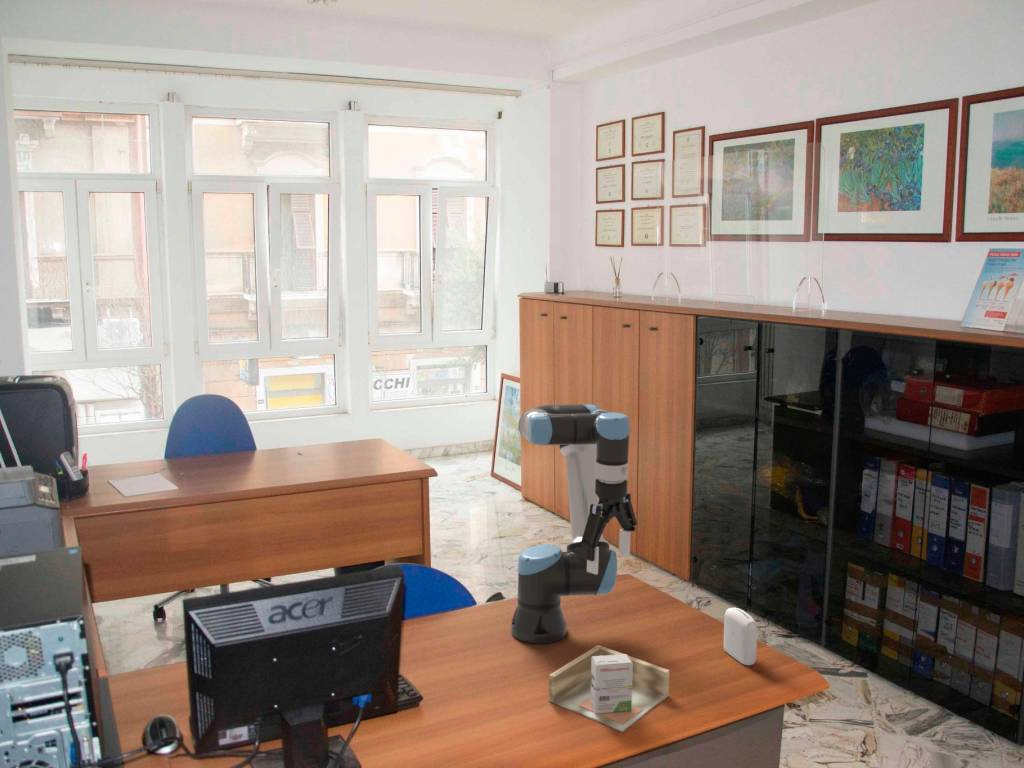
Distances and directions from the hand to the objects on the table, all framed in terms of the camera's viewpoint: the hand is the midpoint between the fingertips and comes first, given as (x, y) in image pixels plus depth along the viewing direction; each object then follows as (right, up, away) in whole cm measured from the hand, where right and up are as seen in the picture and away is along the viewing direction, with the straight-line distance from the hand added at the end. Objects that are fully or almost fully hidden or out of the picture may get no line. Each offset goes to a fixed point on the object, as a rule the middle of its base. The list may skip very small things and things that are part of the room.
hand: (608, 564), depth 209 cm
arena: (-1, -30, -6) cm, 31 cm away
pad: (-1, -31, -11) cm, 33 cm away
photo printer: (+35, -27, +15) cm, 47 cm away
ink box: (-1, -30, -11) cm, 32 cm away
